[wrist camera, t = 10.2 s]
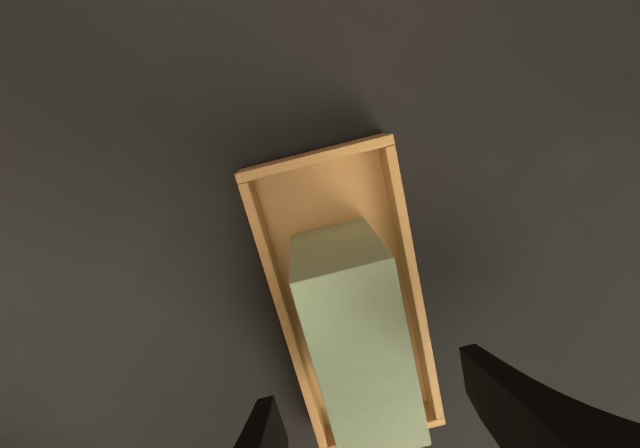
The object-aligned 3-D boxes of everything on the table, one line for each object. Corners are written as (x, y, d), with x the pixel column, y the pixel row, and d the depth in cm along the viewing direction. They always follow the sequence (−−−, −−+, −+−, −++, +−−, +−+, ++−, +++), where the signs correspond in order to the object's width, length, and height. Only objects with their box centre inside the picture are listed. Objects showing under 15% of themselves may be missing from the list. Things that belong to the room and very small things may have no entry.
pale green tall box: (369, 215, 19) (402, 255, 13) (399, 357, 21) (437, 443, 16) (290, 235, 19) (288, 283, 13) (329, 375, 21) (342, 467, 16)
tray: (433, 400, 23) (445, 424, 21) (319, 429, 23) (321, 456, 21) (383, 132, 18) (393, 133, 16) (240, 169, 18) (234, 173, 16)
